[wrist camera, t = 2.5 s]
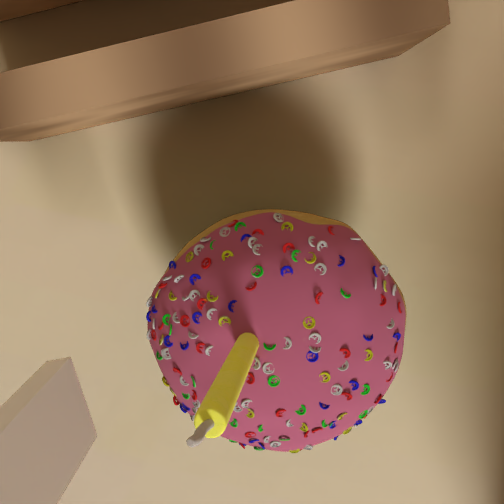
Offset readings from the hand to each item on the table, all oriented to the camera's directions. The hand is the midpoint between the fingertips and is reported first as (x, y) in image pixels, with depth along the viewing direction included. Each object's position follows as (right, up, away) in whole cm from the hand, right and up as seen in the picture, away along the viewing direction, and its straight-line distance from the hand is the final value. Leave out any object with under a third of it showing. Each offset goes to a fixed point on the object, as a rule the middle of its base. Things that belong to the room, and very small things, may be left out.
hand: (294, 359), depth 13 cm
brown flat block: (-3, +10, +5) cm, 11 cm away
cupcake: (0, +1, +7) cm, 7 cm away
